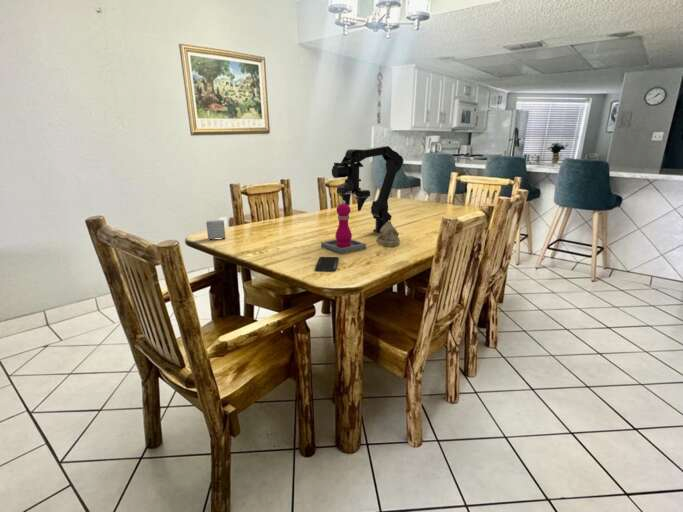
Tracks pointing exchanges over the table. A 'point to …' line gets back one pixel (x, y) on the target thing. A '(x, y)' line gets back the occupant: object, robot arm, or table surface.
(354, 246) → the grey tray
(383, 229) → the ceramic model
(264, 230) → the table surface
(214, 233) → the medicine box
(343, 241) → the pepper mill
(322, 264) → the phone
